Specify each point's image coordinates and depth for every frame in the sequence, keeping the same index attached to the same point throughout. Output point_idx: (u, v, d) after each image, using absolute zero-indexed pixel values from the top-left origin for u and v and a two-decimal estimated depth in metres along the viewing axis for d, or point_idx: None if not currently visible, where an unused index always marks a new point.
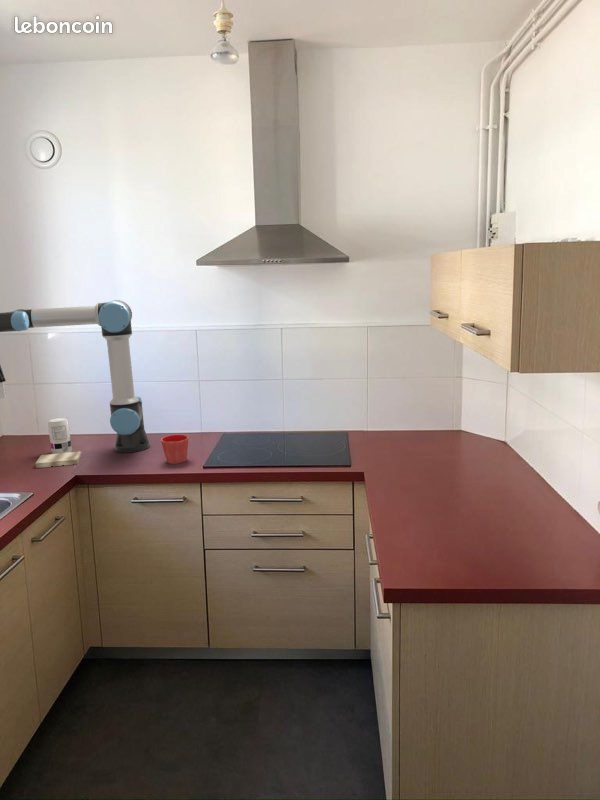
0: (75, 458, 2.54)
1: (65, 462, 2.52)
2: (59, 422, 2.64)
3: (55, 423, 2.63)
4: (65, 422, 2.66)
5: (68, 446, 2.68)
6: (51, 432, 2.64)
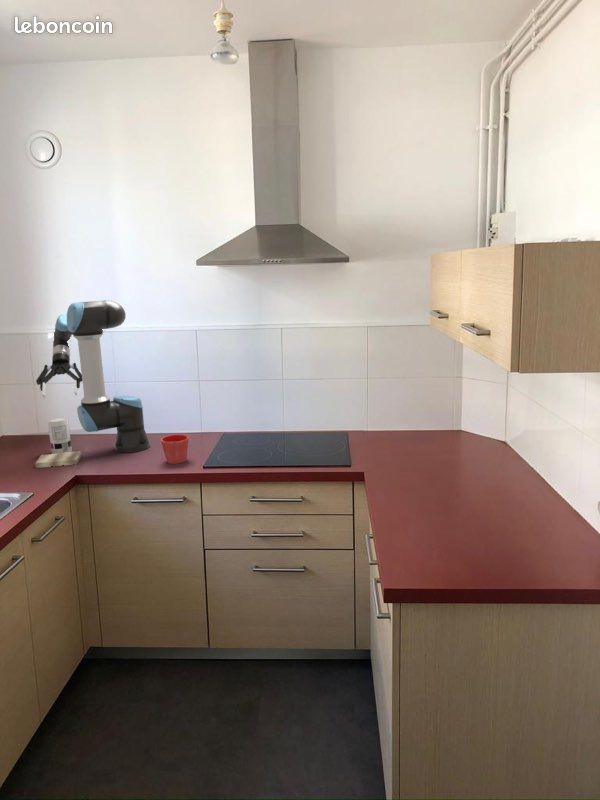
0: (75, 458, 2.54)
1: (65, 462, 2.52)
2: (59, 422, 2.64)
3: (55, 423, 2.63)
4: (65, 422, 2.66)
5: (68, 446, 2.68)
6: (51, 432, 2.64)
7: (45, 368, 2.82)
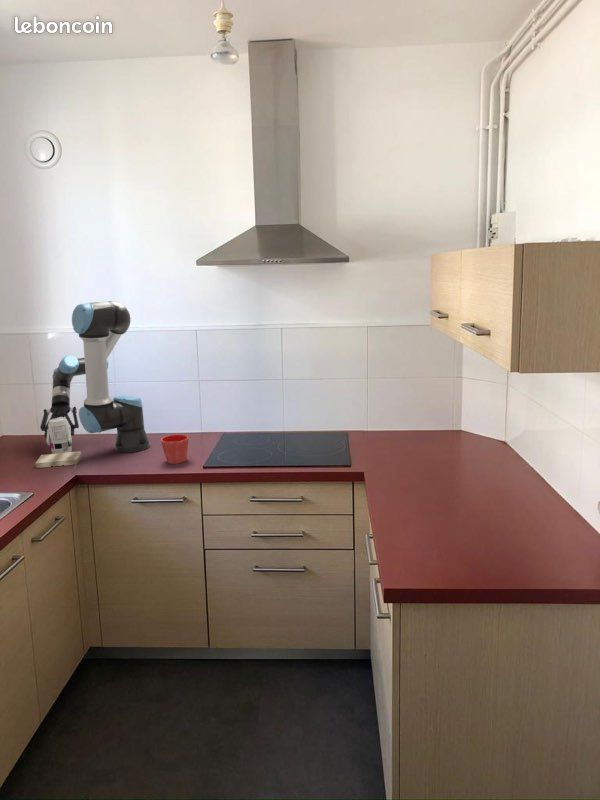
0: (75, 458, 2.54)
1: (65, 462, 2.52)
2: (59, 422, 2.64)
3: (55, 423, 2.63)
4: (65, 422, 2.66)
5: (68, 446, 2.68)
6: (51, 432, 2.64)
7: (45, 413, 2.71)
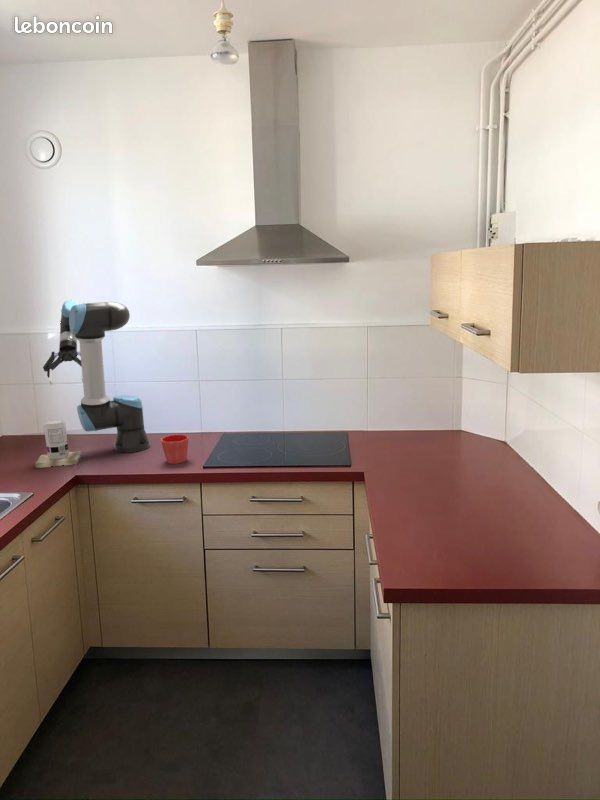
0: (75, 458, 2.54)
1: (65, 462, 2.52)
2: (56, 424, 2.51)
3: (52, 426, 2.51)
4: (62, 424, 2.53)
5: (65, 450, 2.55)
6: (47, 435, 2.52)
7: (52, 355, 2.79)
